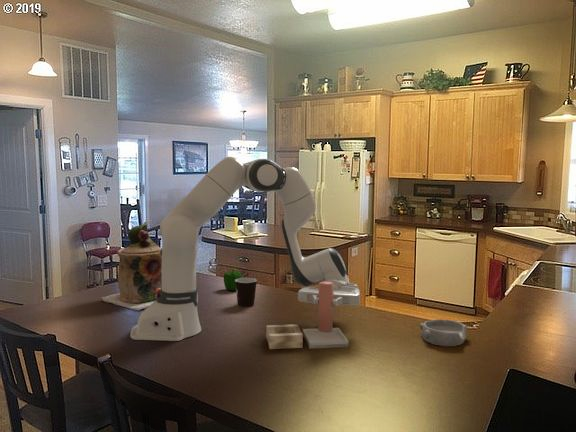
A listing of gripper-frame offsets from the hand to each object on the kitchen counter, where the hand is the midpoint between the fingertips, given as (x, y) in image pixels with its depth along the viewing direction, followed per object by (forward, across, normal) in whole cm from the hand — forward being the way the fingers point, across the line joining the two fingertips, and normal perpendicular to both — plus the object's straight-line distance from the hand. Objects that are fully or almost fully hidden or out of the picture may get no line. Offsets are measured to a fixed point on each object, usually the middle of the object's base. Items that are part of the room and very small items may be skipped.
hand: (325, 302), depth 147 cm
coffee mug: (-33, -38, +13) cm, 51 cm away
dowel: (-1, 0, +9) cm, 9 cm away
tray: (-1, 0, +12) cm, 13 cm away
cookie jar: (-26, -80, +13) cm, 86 cm away
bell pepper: (-52, -51, +13) cm, 74 cm away
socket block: (+4, -12, +12) cm, 18 cm away
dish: (-13, +36, +13) cm, 41 cm away
